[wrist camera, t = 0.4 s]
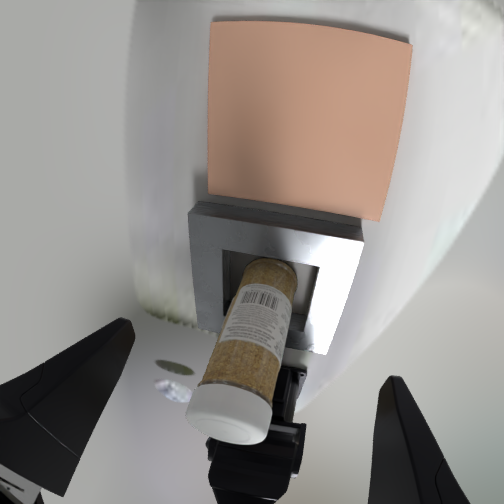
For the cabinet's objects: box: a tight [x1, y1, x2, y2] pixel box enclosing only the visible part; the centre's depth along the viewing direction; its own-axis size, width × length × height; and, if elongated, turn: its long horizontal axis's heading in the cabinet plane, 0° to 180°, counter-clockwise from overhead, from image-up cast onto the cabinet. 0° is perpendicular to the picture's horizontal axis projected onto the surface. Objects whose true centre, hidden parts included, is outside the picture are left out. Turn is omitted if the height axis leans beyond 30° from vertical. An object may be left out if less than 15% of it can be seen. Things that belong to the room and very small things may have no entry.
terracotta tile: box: [208, 21, 413, 222], centre depth 17 cm, size 12×12×1 cm
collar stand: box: [188, 201, 364, 354], centre depth 24 cm, size 12×12×2 cm
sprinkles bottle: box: [186, 258, 297, 445], centre depth 19 cm, size 5×5×14 cm
